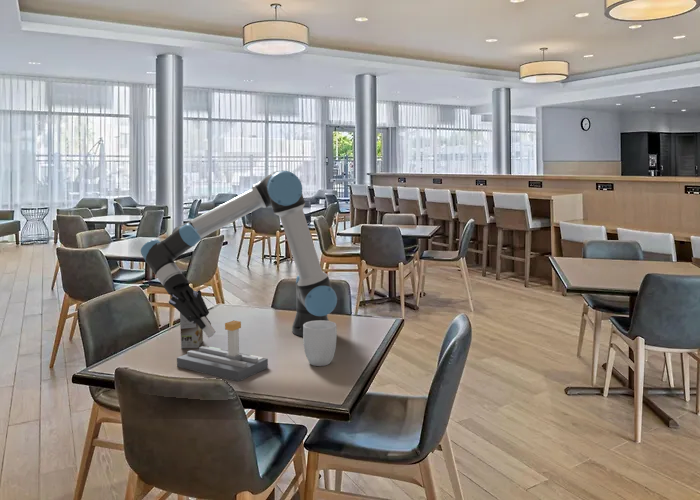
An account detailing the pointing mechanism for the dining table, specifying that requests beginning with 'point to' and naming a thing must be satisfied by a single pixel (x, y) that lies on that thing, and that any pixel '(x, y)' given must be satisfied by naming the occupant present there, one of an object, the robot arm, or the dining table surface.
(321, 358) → the mug
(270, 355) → the dining table surface
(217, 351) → the switch panel
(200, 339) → the coffee box
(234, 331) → the lever
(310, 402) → the dining table surface
